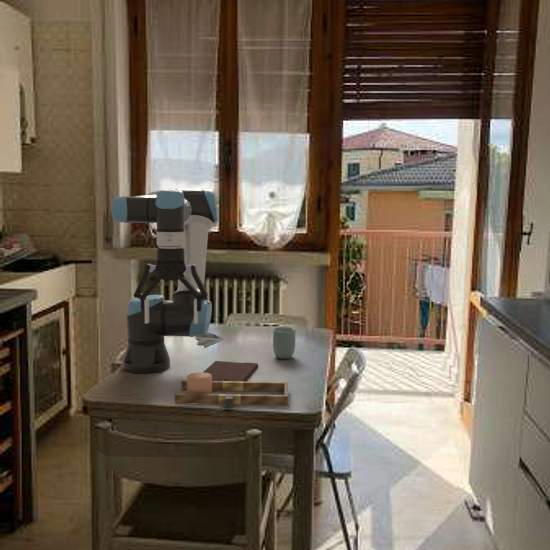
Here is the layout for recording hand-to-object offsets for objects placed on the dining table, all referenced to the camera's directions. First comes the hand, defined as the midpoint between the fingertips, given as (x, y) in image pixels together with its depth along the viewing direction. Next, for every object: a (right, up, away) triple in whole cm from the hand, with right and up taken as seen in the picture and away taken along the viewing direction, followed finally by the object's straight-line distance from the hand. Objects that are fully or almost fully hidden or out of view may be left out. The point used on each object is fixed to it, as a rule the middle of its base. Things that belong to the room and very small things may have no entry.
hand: (171, 322), depth 169 cm
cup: (+32, -16, +42) cm, 55 cm away
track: (+17, -21, +1) cm, 27 cm away
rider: (+8, -21, +2) cm, 23 cm away
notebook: (+14, -19, +22) cm, 32 cm away
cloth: (+3, -12, +66) cm, 67 cm away
